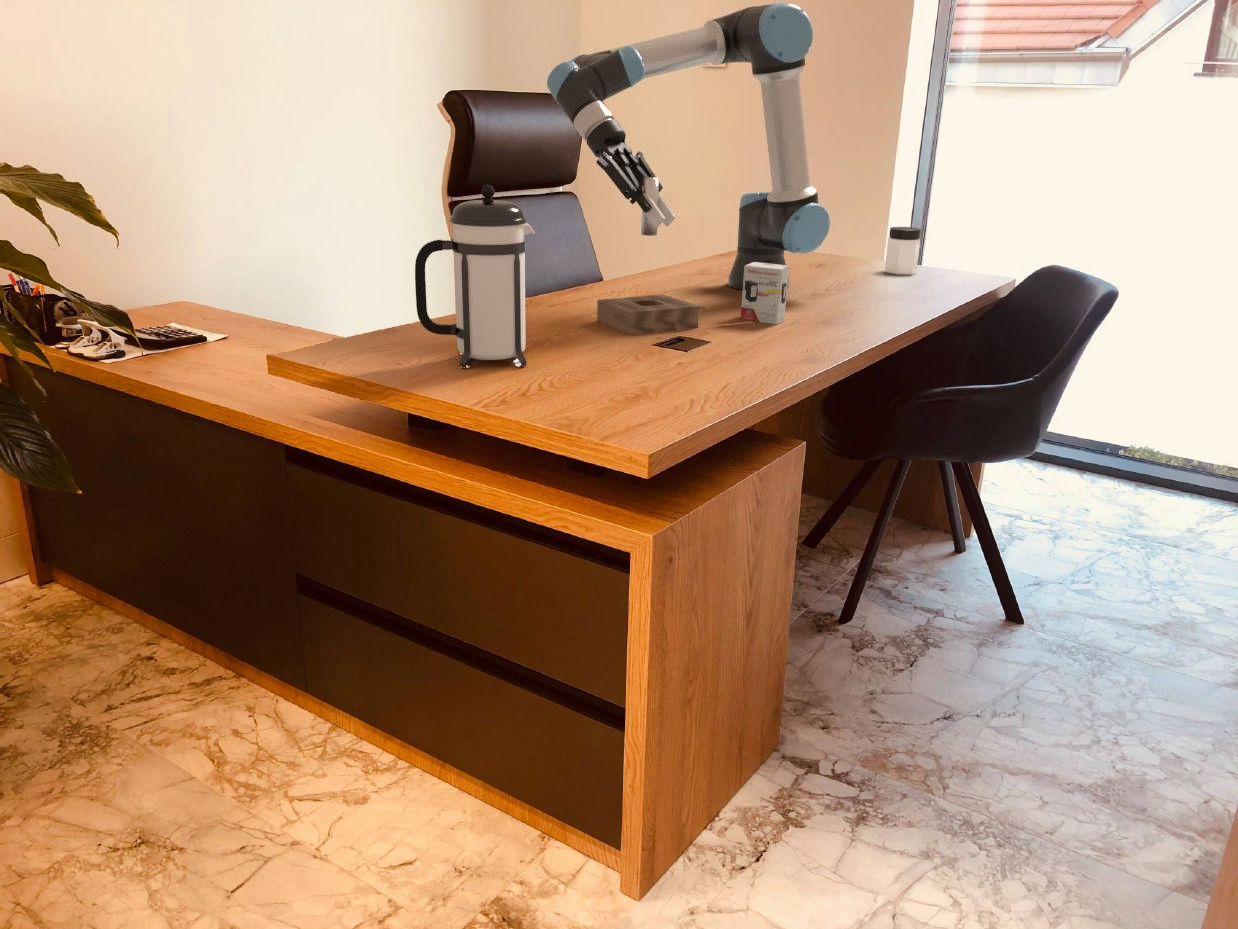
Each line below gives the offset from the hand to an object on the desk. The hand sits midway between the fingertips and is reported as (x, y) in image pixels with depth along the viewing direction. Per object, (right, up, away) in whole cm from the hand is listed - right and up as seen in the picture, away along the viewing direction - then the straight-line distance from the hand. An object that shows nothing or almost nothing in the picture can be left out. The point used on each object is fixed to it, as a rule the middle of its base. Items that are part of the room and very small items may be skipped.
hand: (665, 222), depth 199 cm
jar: (+69, +5, +81) cm, 106 cm away
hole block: (-3, -19, +9) cm, 21 cm away
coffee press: (-33, -30, -22) cm, 50 cm away
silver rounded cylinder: (-3, -2, +3) cm, 5 cm away
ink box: (+21, -17, +16) cm, 32 cm away
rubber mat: (+2, -13, +26) cm, 29 cm away
